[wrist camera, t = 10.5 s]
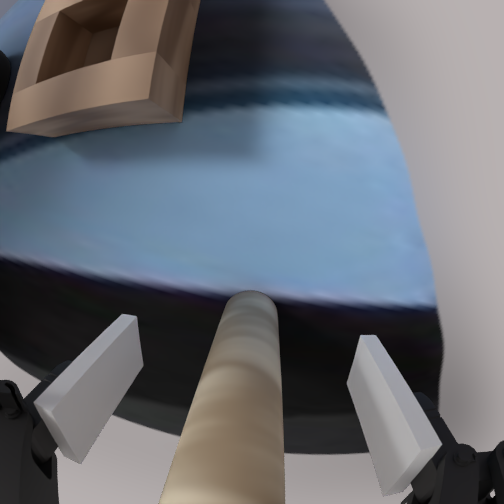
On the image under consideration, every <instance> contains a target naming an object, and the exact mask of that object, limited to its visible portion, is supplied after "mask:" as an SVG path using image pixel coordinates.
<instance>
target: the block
mask: <svg viewBox="0 0 504 504" xmlns="http://www.w3.org/2000/svg"><path fill="white" fill-rule="evenodd" d="M199 5H200V0H45V2H44V4H43V6H42V9H41V11H40V13H39V15H38V18H37V20H36V22H35V25H34V27H33V30H32V32H31V35H30V37H29V40H28V43H27V46H26V49H25V52H24V55H23V58H22V61H21V64H20V68H19V71H18V75H17V79H16V83H15V87H14V91H13V95H12V100H11V105H10V110H9V116H8V122H7V129H6V131H7V132H17V133H25V134H33V135H41V136H48V137H58V136H63V135H68V134H73V133H79V132H85V131H91V130H98V129H105V128H113V127H122V126H131V125H142V124H155V123H173V122H182V116H183V106H184V98H185V89H186V82H187V74H188V67H189V60H190V54H191V48H192V42H193V36H194V30H195V25H196V20H197V15H198V10H199Z"/></svg>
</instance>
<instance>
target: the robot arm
mask: <svg viewBox="0 0 504 504" xmlns="http://www.w3.org/2000/svg"><path fill="white" fill-rule="evenodd" d="M142 367H143V359H142V353H141V346H140V338H139V331H138V322H137V316H132V315H126V314H122V315H121V316H120V317H119V318H117V319H116V320H115V321H114V322H113V323H112V324H111V325H110V326H109V327H108V328H107V329H106V330H105V331H104V332H103V333H102V334H101V335H100V336H99V337H98V338H97V339H96V340H94V341H93V342H92V343H91V344H90V345H89V346H88V347H87V348H86V349H85V350H84V351H83V352H82V353H81V354H80V355H79V356H78V357H77V358H76V359H75V360H74V361H73V362H72V361H69V360H68V361H66V362H64V363H62V364H60V365H58V366H57V367H56V368H54V369H53V370H52V371H51V372H50V375H49V374H48V375H47V376H46V377H45V378H44V380H42V381H41V382H40V383H39V384H38V385H37V386H36V387H35V388H34V389H33V390H32V391H31V392H30V393H29V394H28V395H27V396H26V397H25V398H24V399H23V397H22V395H21V393H20V391H19V388H18V387H17V385H16V384H15V383H14V382H13V381H10V380H0V504H59V497H58V480H57V457H56V455H55V453H54V452H55V450H56V449H57V447H59V449H60V451H61V452H62V454H63V455H64V456H65V457H67V458H69V459H71V460H73V461H75V462H77V463H79V464H82V462H83V460H84V458H85V457H86V455H87V454H88V452H89V450H90V449H91V447H92V445H93V444H94V442H95V441H96V439H97V437H98V436H99V434H100V433H101V431H102V429H103V428H104V426H105V424H106V423H107V421H108V419H109V418H110V416H111V415H112V413H113V412H114V410H115V409H116V407H117V405H118V404H119V402H120V401H121V399H122V398H123V396H124V395H125V393H126V391H127V390H128V388H129V387H130V385H131V384H132V382H133V381H134V379H135V378H136V376H137V374H138V373H139V371H140V370H141V368H142ZM347 386H348V389H349V392H350V394H351V397H352V400H353V403H354V406H355V409H356V412H357V415H358V418H359V421H360V424H361V427H362V430H363V433H364V436H365V439H366V442H367V445H368V448H369V452H370V455H371V458H372V461H373V464H374V468H375V471H376V474H377V478H378V481H379V484H380V488H381V491H382V495H383V496H388V495H392V494H396V493H400V492H403V491H404V490H405V489H406V488H407V487H408V486H409V484H410V483H411V485H412V488H413V491H412V492H411V493H410V494H409V495H408V496H407V497H406V498H405V499H404V500H403V501H402V502H401V504H405V503H407V504H504V441H502V442H500V443H499V444H498V445H497V446H496V448H495V449H494V450H493V451H489V452H478V453H477V452H476V451H475V449H474V448H472V447H471V446H469V445H466V444H458V443H457V442H456V440H455V438H454V437H453V435H452V433H451V432H450V430H449V429H448V427H447V425H446V424H445V422H444V420H443V419H442V417H440V414H439V412H438V411H437V410H436V407H435V406H434V404H433V403H432V401H431V400H430V399H429V398H428V397H427V396H426V395H424V394H423V393H422V392H415V393H412V391H411V390H410V388H409V386H408V385H407V383H406V381H405V380H404V378H403V377H402V375H401V373H400V372H399V370H398V369H397V367H396V365H395V364H394V362H393V361H392V359H391V358H390V356H389V355H388V353H387V351H386V350H385V348H384V347H383V345H382V344H381V342H380V341H379V339H378V338H377V336H376V335H360V339H359V342H358V346H357V350H356V354H355V357H354V361H353V364H352V368H351V371H350V374H349V377H348V381H347ZM493 490H494V491H495V496H494V497H493V498H492V497H491V496H490V493H491V492H492V491H493Z"/></svg>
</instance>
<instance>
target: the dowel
mask: <svg viewBox="0 0 504 504" xmlns="http://www.w3.org/2000/svg"><path fill="white" fill-rule="evenodd" d="M158 504H285V472H284V437H283V411H282V388H281V367H280V348H279V331H278V314H277V309H276V306H275V304H274V302H273V301H272V300H271V299H270V298H269V297H268V296H266V295H265V294H263V293H261V292H257V291H243V292H240V293H237V294H235V295H234V296H232V297H231V298H230V299H229V301H228V302H227V304H226V306H225V309H224V312H223V315H222V317H221V320H220V323H219V326H218V329H217V332H216V335H215V338H214V341H213V343H212V346H211V349H210V352H209V355H208V358H207V361H206V364H205V367H204V370H203V372H202V375H201V378H200V381H199V384H198V387H197V390H196V393H195V396H194V399H193V402H192V405H191V408H190V411H189V414H188V416H187V419H186V422H185V425H184V428H183V431H182V434H181V437H180V440H179V443H178V446H177V449H176V452H175V455H174V458H173V461H172V464H171V467H170V470H169V473H168V476H167V480H166V482H165V485H164V488H163V491H162V494H161V497H160V500H159V503H158Z"/></svg>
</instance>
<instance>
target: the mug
mask: <svg viewBox="0 0 504 504" xmlns="http://www.w3.org/2000/svg"><path fill="white" fill-rule="evenodd" d="M10 71H11V68H10V62H9V60H8V58H7V57H6V55H5V54H4V53H3V52H2V51H0V103H1V101H2V99H3V97H4V94H5V92H6V89H7V86H8V82H9V78H10Z"/></svg>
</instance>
